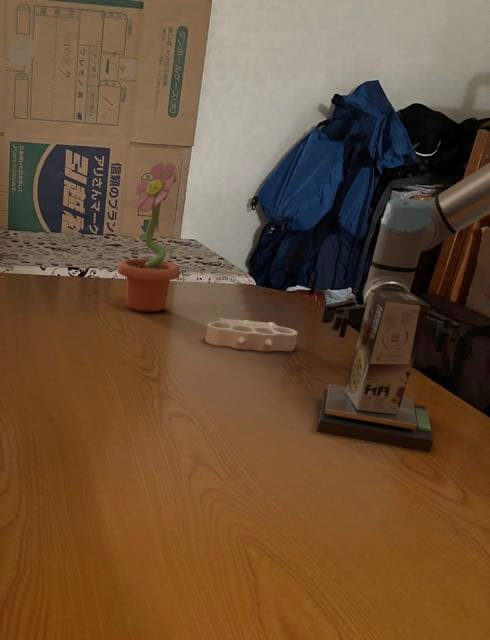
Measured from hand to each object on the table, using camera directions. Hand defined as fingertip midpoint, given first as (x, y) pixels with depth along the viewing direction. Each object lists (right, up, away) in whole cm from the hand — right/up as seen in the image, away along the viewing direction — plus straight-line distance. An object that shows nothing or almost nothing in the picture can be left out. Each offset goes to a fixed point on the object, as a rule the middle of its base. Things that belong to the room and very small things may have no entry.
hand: (392, 335), depth 112 cm
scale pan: (0, -10, +8) cm, 12 cm away
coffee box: (0, -9, +8) cm, 11 cm away
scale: (0, -12, +9) cm, 14 cm away
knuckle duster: (-11, +10, +45) cm, 48 cm away
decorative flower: (-31, +23, +65) cm, 75 cm away
